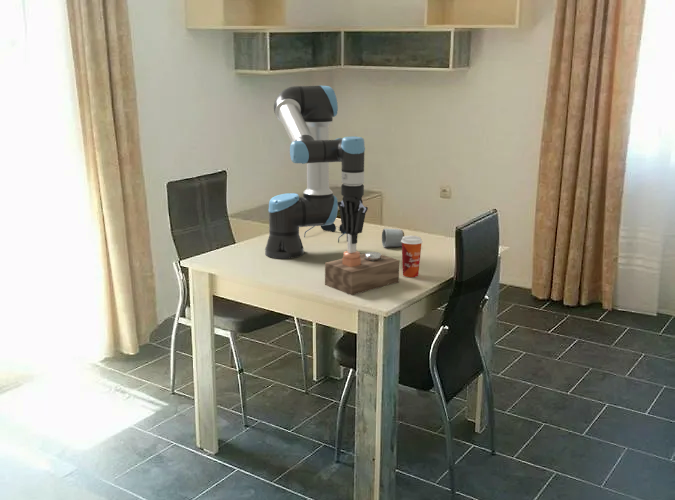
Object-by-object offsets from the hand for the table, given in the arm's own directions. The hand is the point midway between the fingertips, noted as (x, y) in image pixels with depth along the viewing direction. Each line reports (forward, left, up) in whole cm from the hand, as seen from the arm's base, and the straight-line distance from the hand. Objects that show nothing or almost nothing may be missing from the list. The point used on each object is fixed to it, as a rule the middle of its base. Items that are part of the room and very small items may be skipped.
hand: (351, 252), depth 263 cm
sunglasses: (-57, +37, -13) cm, 69 cm away
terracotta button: (0, 0, -8) cm, 8 cm away
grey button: (0, +10, -10) cm, 14 cm away
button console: (0, +5, -12) cm, 13 cm away
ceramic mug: (-29, +47, -13) cm, 57 cm away
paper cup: (+4, +25, -13) cm, 28 cm away
